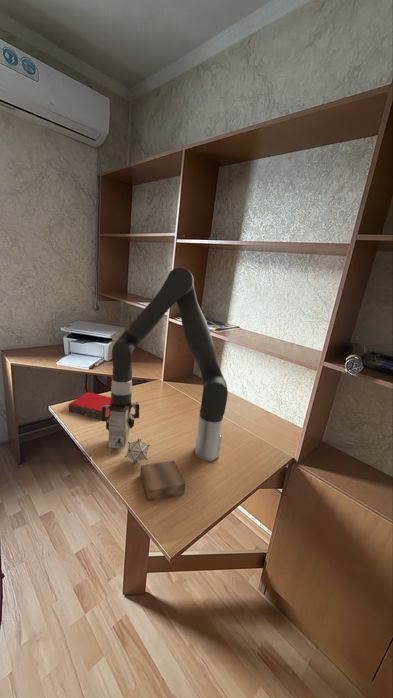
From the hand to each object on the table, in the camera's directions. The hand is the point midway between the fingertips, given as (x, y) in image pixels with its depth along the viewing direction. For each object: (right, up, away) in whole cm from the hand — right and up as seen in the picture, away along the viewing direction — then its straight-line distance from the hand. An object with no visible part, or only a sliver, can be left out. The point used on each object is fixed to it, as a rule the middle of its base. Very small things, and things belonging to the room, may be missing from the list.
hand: (119, 428), depth 114 cm
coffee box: (-1, -6, +1) cm, 6 cm away
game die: (+8, -11, -7) cm, 15 cm away
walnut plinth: (+18, -14, -16) cm, 28 cm away
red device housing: (-19, +1, +26) cm, 33 cm away
